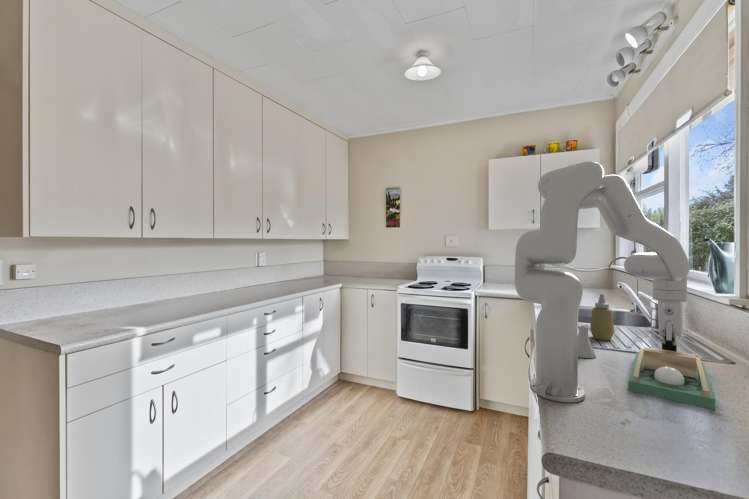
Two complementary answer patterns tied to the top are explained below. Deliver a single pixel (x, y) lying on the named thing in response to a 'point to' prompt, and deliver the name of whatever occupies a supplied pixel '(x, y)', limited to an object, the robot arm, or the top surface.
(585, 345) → the flask
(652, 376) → the putting mat
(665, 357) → the tan wooden block
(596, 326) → the squeeze bottle
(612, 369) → the top surface
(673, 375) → the ball
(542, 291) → the robot arm
